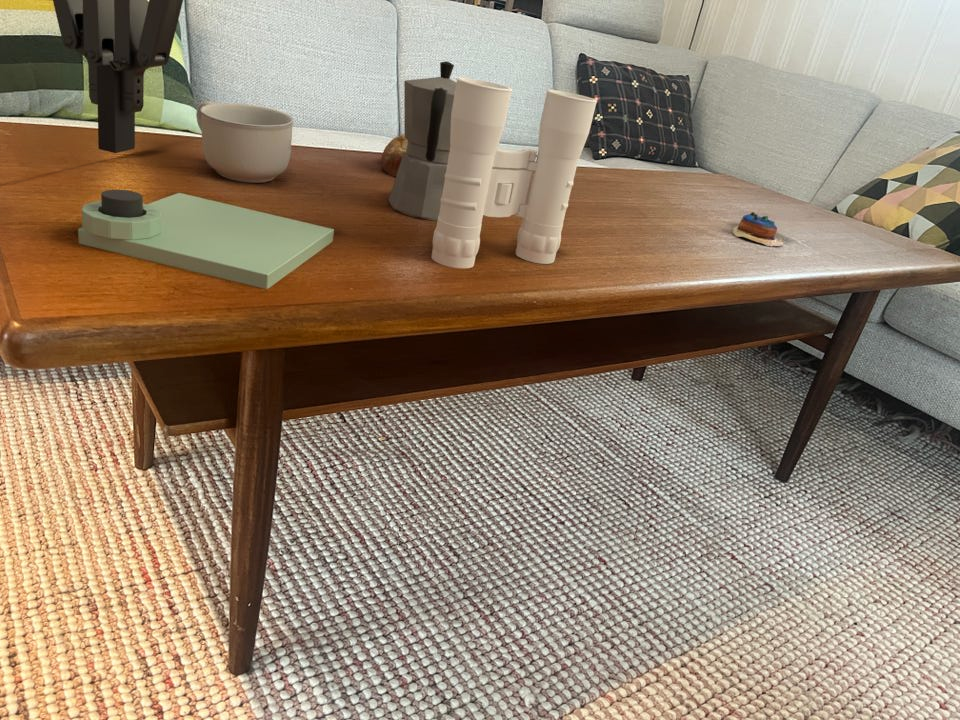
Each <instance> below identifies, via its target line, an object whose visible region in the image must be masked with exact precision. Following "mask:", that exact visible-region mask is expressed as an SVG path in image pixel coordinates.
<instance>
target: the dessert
mask: <svg viewBox="0 0 960 720" xmlns="http://www.w3.org/2000/svg"><path fill="white" fill-rule="evenodd" d="M775 223H776V222H775V220H774V221H773V220H771V219H769V216H768V215H762V216H761V215H760V216H759V215H758V214H756V213H755V212H753V211H751V213H748V214H744V215H743V216H742V217H741V218H740V221H739V224H737V225H736V226H735V227H734V228H733V229H732V234H733V235H734V236H736V237H738V238H739V237H742V238H745V239H748V240H750V241H752V242H753V241H754V242H756V243H759V244H762V245H764V246H766V247H769V246H770V247H781V246H783V245H784V242H783V241H782V240H783V239H782V238H780V239H778V238H777V237H776V234H777V232H778V227H777V225H776V224H775ZM779 236H780V234H778V237H779Z"/></svg>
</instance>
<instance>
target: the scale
mask: <svg viewBox="0 0 960 720" xmlns="http://www.w3.org/2000/svg"><path fill="white" fill-rule="evenodd" d="M81 223H82V224H81V225H82V226H81V227H79V228H78V229H77V236H78V237H77V239H78V245H82V246H87V247H92V248H95V249H100V250H104V251H108V252H113V253H116V254H120V255H124V256H128V257H131V258H132V257H133V258H137V259H141V260H145V261H149V262H153V263H157V264H162V265H166V266H170V267H174V268H178V269H181V270H186V271H190V272H193V273H194V272H195V273H198V274H202V275H205V276H210V277H215V278H219V279H221V280H227V281H230V282H235V283H239V284H243V285H248V286H251V287H254V288H255V287H256V288H261V289H264V290H268V289H270V288H271V287H273V286H274V285H275V284H277V283H278V282H280V281H281V280H282V279H283V278H285V277H286V276H288V275H289V274H290V273H292V272H293V271H295V270H296V269H297V268H298V267H300V266H301V265H302V264H304V263H305V262H307V261H308V260H310V259H311V258H312V257H313V256H315V255H316V254H317V253H319V252H320V251H322V250H323V249H325V248H326V247H327V246H329V245H330V244H332V243H333V242H334V234H335V229H333V228H330V227H326V226H322V225H317V224H313V223H309V222H304V221H301V220H297V219H292V218H288V217H283V216H279V215H275V214H271V213H267V212H262V211H258V210H253V209H249V208H246V207H241V206H238V205H233V204H230V203H229V204H228V203H224V202H220V201H215V200H211V199H208V198H202V197H200V196H195V195H192V194H191V195H190V194H186V193H183V192H177V193H175V194H172V195H168V196H166V197H163V198H160V199H158V200H155V201H152V202H149V203H143V216H141V217H132V218H124V217H113V216H109V215H105V214H102V202H101V200H95V201H92V202H88V203H85V204H83V205H82V207H81Z"/></svg>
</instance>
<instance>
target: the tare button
mask: <svg viewBox="0 0 960 720" xmlns="http://www.w3.org/2000/svg"><path fill="white" fill-rule="evenodd" d="M100 197H101V198H100V201H101V202H102V214H105V215H109V216H113V217H124V218H132V217H141V216H143V204H144V196H143V194H141V193H139V192H136V191H133V190H126V189H106V190H103V191H102V192H101V194H100Z"/></svg>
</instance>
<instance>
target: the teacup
mask: <svg viewBox="0 0 960 720" xmlns="http://www.w3.org/2000/svg"><path fill="white" fill-rule="evenodd" d="M197 106H198V107H197V109H196V115H195V118H196V122H197V126H198V128H199V129H200V132H201V144H202V153H203V156H204V159H205V161H206V163H207V164H208V165H209V167H211V168H212V169H213V170H215V171H216V173H217V174H218V175H219V176H221V177H223V178H225V179H227V180H231V181H235V182H239V183H246V184H247V183H248V184H260V183H261V184H262V183H268V182H271V181H273V180H274V179H275V178H277V176H280V175H281V174H283V173H284V172H285V170H286V169H287V168H288V166H289V163H290V159H291V154H292V153H291V152H292V143H293V142H292V139H293V125H294V118H293V117H292V116H291V115H289V114H287V113H285V112H283V111H280V110H278V109H274V108H269V107H266V106H259V105H253V104H246V103H232V102H231V103H230V102H229V103H226V102H224V103H221V102H220V103H216V102H214V101H210V100H209V101H202V102H201V103H199V104H198V105H197Z"/></svg>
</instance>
